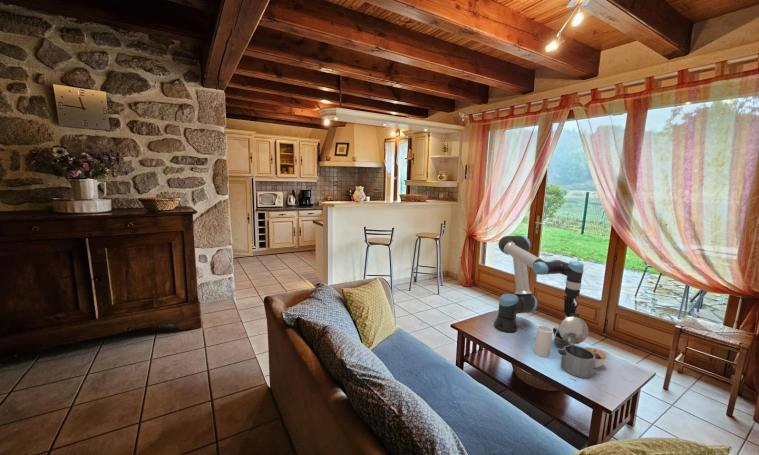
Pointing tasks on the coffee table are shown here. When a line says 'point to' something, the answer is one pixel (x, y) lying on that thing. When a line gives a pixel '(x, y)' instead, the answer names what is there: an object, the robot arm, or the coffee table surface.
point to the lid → (573, 329)
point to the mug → (559, 338)
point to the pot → (578, 361)
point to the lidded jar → (599, 361)
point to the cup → (543, 341)
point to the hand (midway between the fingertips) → (567, 325)
